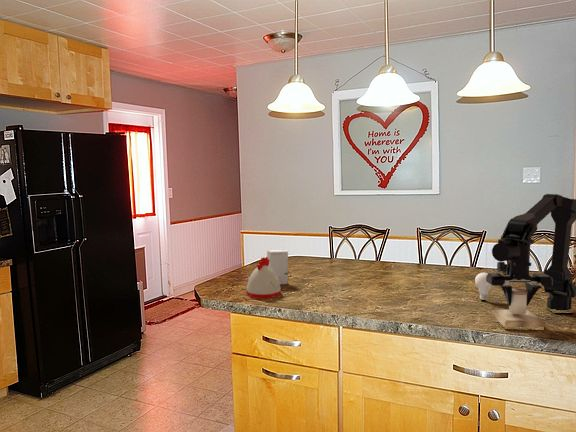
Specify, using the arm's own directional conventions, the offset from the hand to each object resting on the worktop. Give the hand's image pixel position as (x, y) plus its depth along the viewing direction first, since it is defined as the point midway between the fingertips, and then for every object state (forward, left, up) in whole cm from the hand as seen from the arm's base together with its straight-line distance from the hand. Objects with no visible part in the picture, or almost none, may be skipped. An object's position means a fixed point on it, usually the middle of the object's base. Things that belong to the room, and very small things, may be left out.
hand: (517, 305), depth 151 cm
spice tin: (0, 0, -2) cm, 2 cm away
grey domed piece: (+87, -33, -6) cm, 93 cm away
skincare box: (+83, -50, -6) cm, 97 cm away
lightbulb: (+2, -26, -6) cm, 27 cm away
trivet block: (0, 0, -6) cm, 6 cm away
